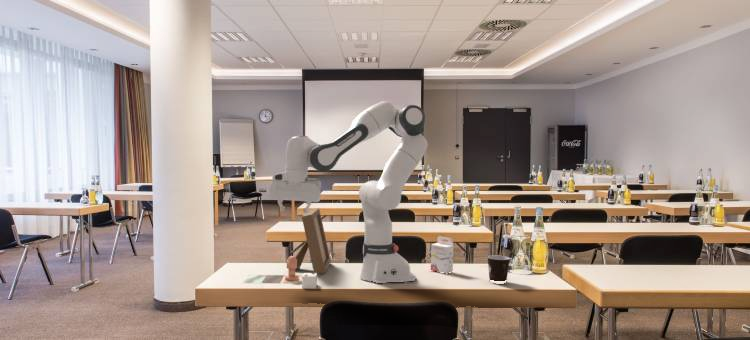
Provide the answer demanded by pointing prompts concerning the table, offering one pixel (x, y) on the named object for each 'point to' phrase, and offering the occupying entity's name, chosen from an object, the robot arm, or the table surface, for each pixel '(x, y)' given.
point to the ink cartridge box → (442, 255)
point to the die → (309, 280)
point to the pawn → (291, 269)
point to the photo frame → (314, 242)
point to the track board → (269, 279)
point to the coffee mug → (498, 267)
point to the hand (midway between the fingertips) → (293, 212)
